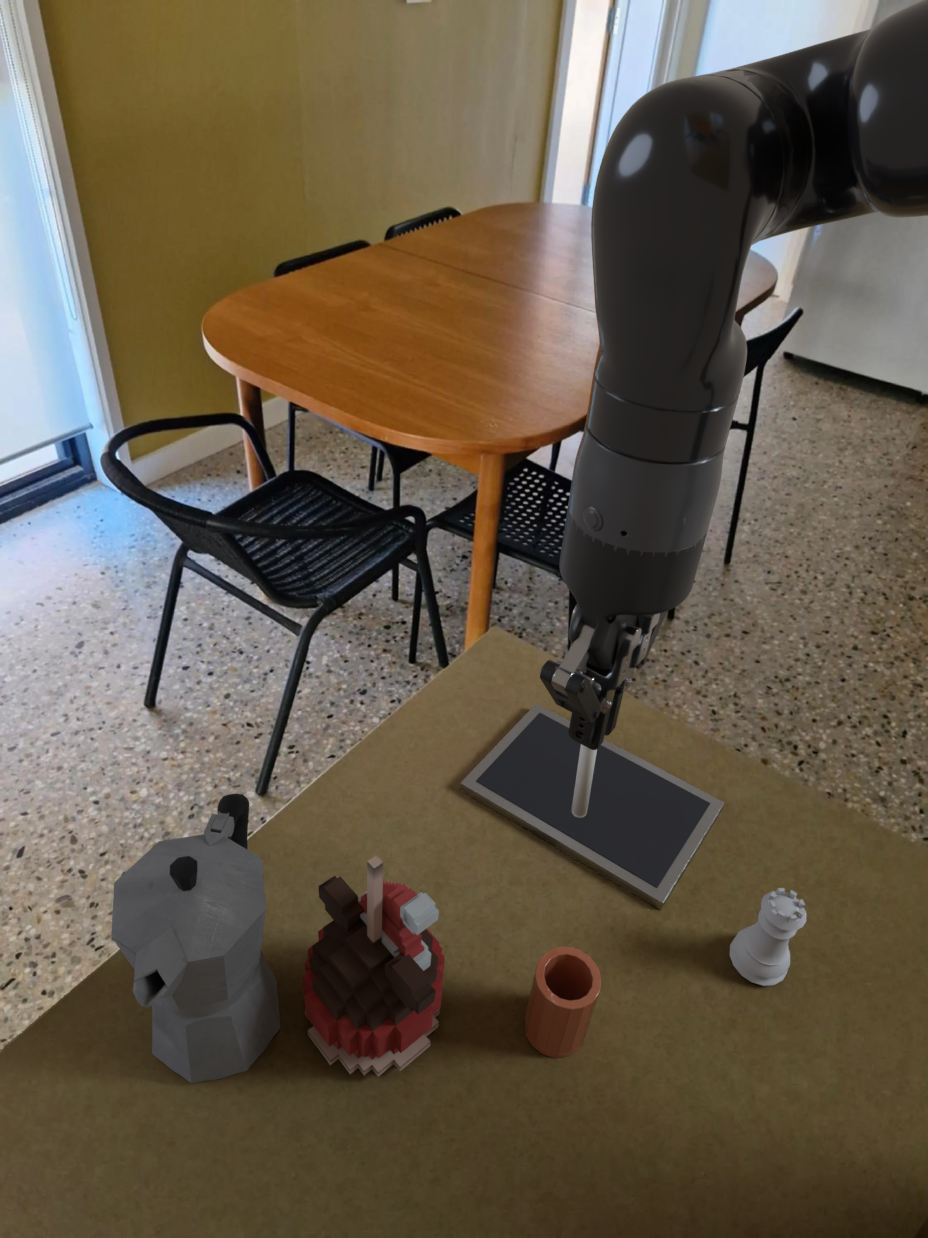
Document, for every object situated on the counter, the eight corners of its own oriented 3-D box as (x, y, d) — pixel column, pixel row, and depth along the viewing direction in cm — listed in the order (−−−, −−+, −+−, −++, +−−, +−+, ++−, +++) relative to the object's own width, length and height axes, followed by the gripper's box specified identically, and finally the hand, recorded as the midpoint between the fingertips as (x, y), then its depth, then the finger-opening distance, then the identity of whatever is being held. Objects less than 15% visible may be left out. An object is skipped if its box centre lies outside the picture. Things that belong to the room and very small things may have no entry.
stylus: (589, 814, 63) (611, 674, 55) (581, 823, 62) (603, 684, 55) (575, 806, 64) (596, 667, 56) (568, 816, 63) (587, 677, 55)
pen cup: (596, 1021, 64) (612, 971, 60) (565, 1071, 61) (580, 1022, 57) (544, 986, 66) (556, 934, 62) (512, 1033, 63) (523, 982, 59)
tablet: (722, 809, 80) (725, 801, 80) (660, 910, 72) (663, 902, 71) (535, 710, 89) (536, 702, 88) (459, 789, 80) (460, 781, 79)
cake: (277, 997, 64) (257, 844, 53) (380, 923, 69) (382, 769, 58) (366, 1118, 58) (365, 975, 47) (471, 1027, 63) (494, 879, 52)
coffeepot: (250, 1130, 57) (221, 986, 46) (110, 1103, 58) (47, 956, 46) (316, 919, 69) (305, 764, 58) (199, 899, 70) (166, 742, 58)
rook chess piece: (716, 957, 69) (743, 898, 64) (750, 925, 71) (779, 866, 66) (764, 1001, 66) (796, 943, 61) (797, 966, 69) (831, 908, 64)
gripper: (644, 594, 41) (589, 828, 52) (753, 483, 50) (687, 703, 61) (510, 535, 45) (485, 767, 55) (634, 440, 53) (592, 657, 64)
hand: (591, 733), depth 58 cm, fingers closed on stylus, 1 cm apart
